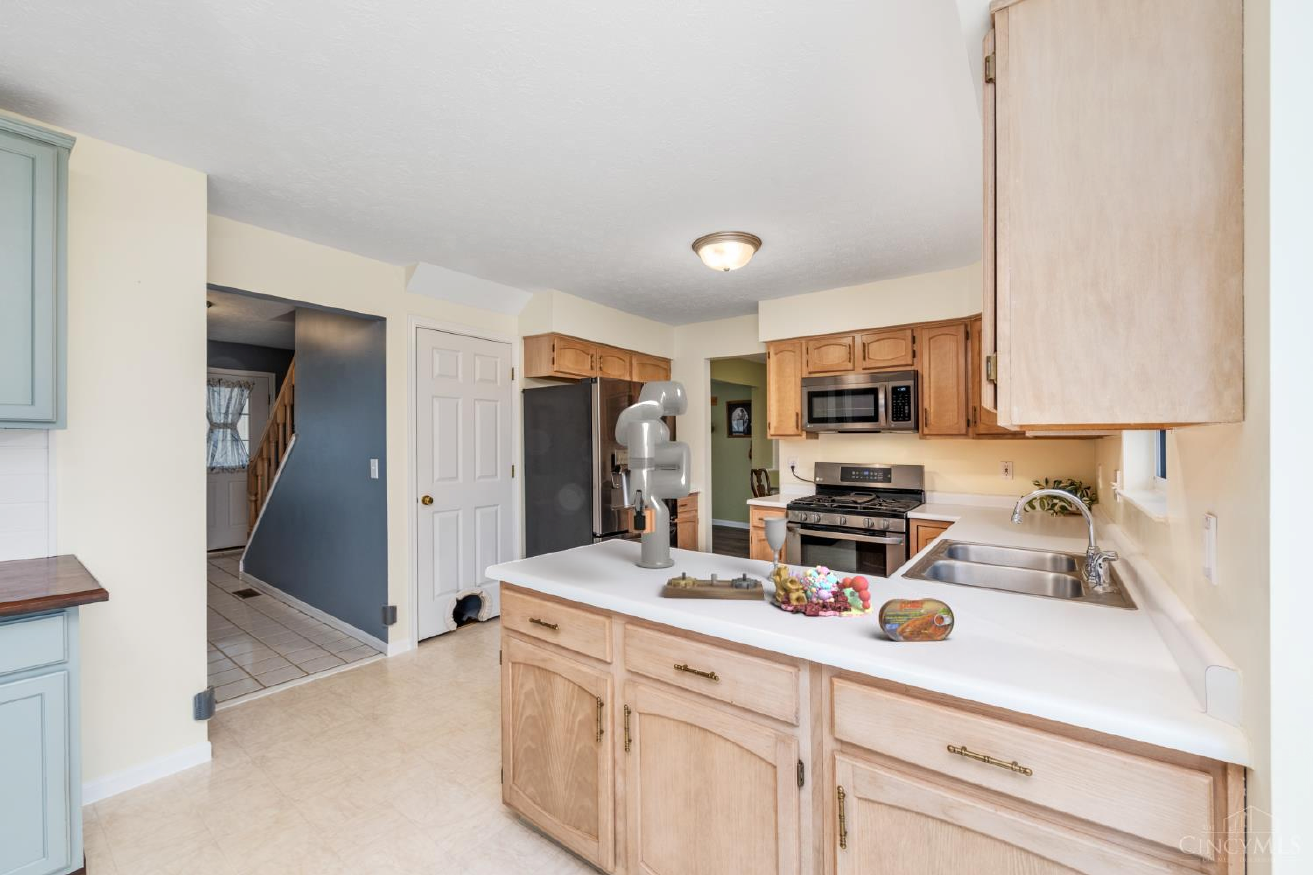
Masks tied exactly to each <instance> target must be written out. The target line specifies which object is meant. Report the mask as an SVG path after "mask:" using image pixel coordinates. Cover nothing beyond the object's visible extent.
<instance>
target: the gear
mask: <svg viewBox="0 0 1313 875" xmlns="http://www.w3.org/2000/svg"><path fill="white" fill-rule="evenodd" d="M645 515H646V529H645V530H634V508H629V509H628V532H629V533H633V534H641V533H648V532H654V531H655V509H650V508H645Z"/></svg>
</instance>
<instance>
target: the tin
mask: <svg viewBox="0 0 1313 875" xmlns="http://www.w3.org/2000/svg"><path fill="white" fill-rule="evenodd" d="M878 624H879V626H880V627H879V628H880V630H882V632H883V633H884V634H885V635H887V636H888V637H889V638H890V639H891V640H893V641H896V642H899V643H905V642H906V643H910V642H911V643H912V642H939V641H942V640H944V639H946V638H947V637H948V636H950V635H951V633H952V631H953V630H954V626H955V616H954V612H953V610H952V609H951V607H950V606H949V605H948V604H947V603H946V602H944V601H942V600H939V599H936V598H932V597H920V598H918V597H917V598H894V599H890V600H888V601H886V602H885V603H884V604H883V605H882V606H881V607H880V609H879V612H878Z"/></svg>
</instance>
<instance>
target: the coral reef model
mask: <svg viewBox="0 0 1313 875" xmlns="http://www.w3.org/2000/svg"><path fill="white" fill-rule="evenodd" d="M772 571H773V581H774V582H773V583H774V586H775V592H773V593H772V595H773V596H774V597H775V598H773V599H771V601H770V602H771V603H773V604H774V605H776V606H777V607H778V606H779V607H780V608H782V610H786V611H793V612H792V613H793V614H795V613H798V612H804V613H805V614H806V616H824V617H828V616H837V617H840V618H841V617H842V618H843V617H846V618H847V617H848V618H854V617H855V618H856V617H857V618H858V617H867V616H870V615H871V614H873V613H874V611H875V607H874V605H873V604H872V603H871V601H870V600H871V593H870V592H869V591H868V589H869V586H870V584H869V581H868V579H867V578H865V576H863V575H856V576H854V577H853V578H851V577H844V578H843V579H842V581H841V582H840V579H839V578H837V575H836V574H835V573H833V572H831V571H830V570H829V568H828V567H826V566H821V565H816V567H810V569H806V570H803V574H802V575H801V574H800V571H798V573H797V574H796V573H795V568H793V569H792V570H791V571H790V569H789V566H788V565H781V564H780V565H778V567H777V569H776V570H774V569H773V570H772Z"/></svg>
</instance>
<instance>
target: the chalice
mask: <svg viewBox="0 0 1313 875" xmlns="http://www.w3.org/2000/svg"><path fill="white" fill-rule="evenodd" d="M762 520H763V523H764V536H765V537H764V538H765V539H766V542H767V544H768V546H769V548H770V550H772V551H773V556H772V558H773V562H772V564H773V566H774V567H773V570H772V571H770V572H769V574H768V577H767V579H766V580H767V581H769V582H773V583H774V581H773V571H774V570H776V569H777V567H779V564H780V563H779V561H778V560H779V554H778V552H779V551H781V549H782V547H783V545H784V543H785V540H786V538H787V522H788V520H789V518H786V517H777V516H775V517H770V516H769V517H763V518H762Z"/></svg>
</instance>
